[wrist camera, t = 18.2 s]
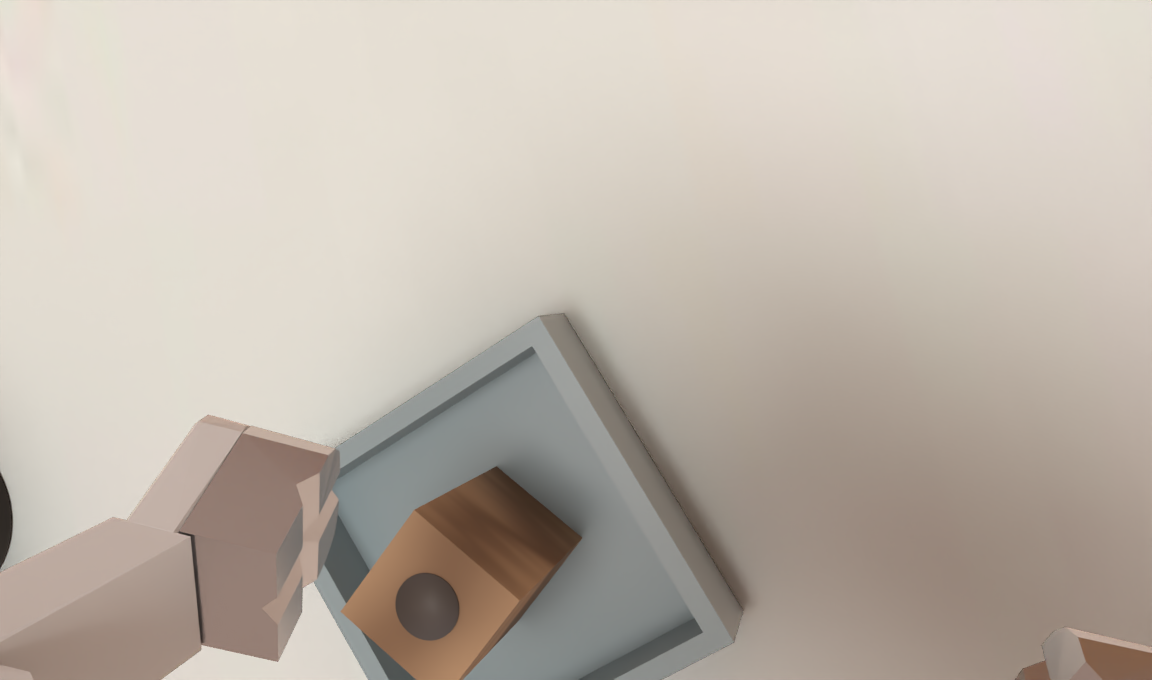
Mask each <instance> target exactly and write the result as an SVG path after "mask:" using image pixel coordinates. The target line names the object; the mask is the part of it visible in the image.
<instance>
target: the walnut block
mask: <svg viewBox="0 0 1152 680" xmlns="http://www.w3.org/2000/svg"><path fill="white" fill-rule="evenodd" d="M581 540H582V537H581V536H580V535H578V534H577V533H576V532H575V531H574V530H572V529H571V528H570V527H569V526H568V525H566V524H565V523H564V522H563V521H562V520H560V519H559V518H558V517H557V516H556V515H554V514H553V513H552V512H551V511H550V510H548V509H547V508H546V507H545V506H544V505H542V504H541V503H540V502H539V501H538V500H536V499H535V498H534V497H533V496H532V495H530V494H529V493H528V492H527V491H526V490H524V489H523V488H522V487H521V486H520V485H518V484H517V483H516V482H515V481H514V480H512V479H511V478H510V477H509V476H508V475H506V474H505V473H504V472H503V471H502V470H500V469H499V468H498V467H497V466H496V467H494V468H492V469H490V470H488V471H486V472H485V473H483V474H481V475H479V476H477V477H475V478H473V479H471V480H469V481H468V482H466V483H464V484H462V485H460V486H458V487H456V488H454V489H452V490H451V491H449V492H447V493H445V494H443V495H441V496H439V497H437V498H435V499H434V500H432V501H430V502H428V503H426V504H424V505H422V506H420V507H418V508H417V509H415V510H414V511H413V512H412V513H411V515H410V516H409V518H408V519H407V520H406V522H405V523H404V524H403V526H402V527H401V529H400V530H399V531H398V533H397V534H396V536H395V537H394V538H393V540H392V541H391V542H390V544H389V545H388V547H387V548H386V549H385V551H384V552H383V553H382V555H381V556H380V558H379V559H378V560H377V562H376V563H375V565H374V566H373V567H372V569H371V570H370V571H369V573H368V574H367V576H366V577H365V578H364V580H363V581H362V582H361V584H360V585H359V587H358V588H357V589H356V591H355V592H354V594H353V595H352V596H351V598H350V599H349V600H348V602H347V603H346V605H345V606H344V607H343V609H342V610H341V611H340V612H341V613H343V614H344V615H345V616H346V617H347V618H348V619H349V620H350V621H351V622H353V623H354V624H355V625H356V626H357V627H358V628H359V629H360V630H361V631H363V632H364V633H365V634H366V635H367V636H368V637H369V638H370V639H371V640H373V641H374V642H375V643H376V644H377V645H378V646H379V647H380V648H381V649H383V650H384V651H385V652H386V653H387V654H388V655H389V656H390V657H391V658H393V659H394V660H395V661H396V662H397V663H398V664H399V665H400V666H401V667H403V668H404V669H405V670H406V671H407V672H408V673H409V674H410V675H411V676H413V677H414V678H415V679H416V680H463V679H464V678H465V677H466V676H467V675H468V674H469V673H470V672H471V671H472V670H473V668H474V667H475V666H476V665H477V664H478V663H479V662H480V661H481V660H482V659H483V658H484V657H485V656H486V655H487V654H488V653H489V652H490V651H491V649H492V648H493V647H494V646H495V645H496V644H497V643H498V642H499V641H500V640H501V639H502V638H503V637H504V636H505V635H506V634H507V633H508V632H509V630H510V629H511V628H512V627H513V626H514V625H515V624H516V623H517V622H518V621H519V620H520V618H521V617H522V616H523V614H524V613H525V612H526V611H527V609H528V608H529V607H530V605H531V604H532V603H533V602H534V600H535V599H536V598H537V596H538V595H539V594H540V593H541V591H542V590H543V589H544V587H545V586H546V585H547V583H548V582H549V581H550V580H551V578H552V577H553V576H554V574H555V573H556V572H557V571H558V569H559V568H560V567H561V565H562V564H563V563H564V562H565V560H566V559H567V558H568V556H569V555H570V554H571V553H572V551H573V550H574V549H575V547H576V546H577V545H578V543H579V542H580V541H581Z"/></svg>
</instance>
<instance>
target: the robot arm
mask: <svg viewBox="0 0 1152 680" xmlns="http://www.w3.org/2000/svg"><path fill="white" fill-rule="evenodd" d="M339 474H340V451H338V450H337V449H335V448H332V447H328V446H324V445H321V444H317V443H313V442H310V441H306V440H302V439H299V438H295V437H291V436H288V435H284V434H280V433H277V432H273V431H269V430H266V429H262V428H258V427H255V426H249V425H245V424H241V423H237V422H234V421H230V420H226V419H223V418H219V417H215V416H211V415H207V416H206V417H204V418H203V419H201V420H200V421H198V422H197V423H196V424H195V425H194V426H193V428H192V429H191V430H190V432H189V433H188V435H187V436H186V437H185V439H184V440H183V442H182V443H181V444H180V446H179V447H178V449H177V450H176V451H175V453H174V454H173V456H172V457H171V458H170V460H169V461H168V463H167V464H166V465H165V467H164V468H163V470H162V471H161V472H160V474H159V475H158V477H157V478H156V479H155V481H154V482H153V484H152V485H151V486H150V488H149V489H148V491H147V492H146V493H145V495H144V496H143V498H142V499H141V500H140V502H139V503H138V505H137V506H136V507H135V509H134V510H133V512H132V513H131V514H130V516H129V517H128V519H127V520H124V519H119V518H115V517H112V518H110V519H108V520H106V521H104V522H102V523H100V524H98V525H96V526H94V527H92V528H90V529H88V530H86V531H84V532H82V533H80V534H78V535H76V536H74V537H71V538H69V539H67V540H65V541H63V542H61V543H59V544H57V545H55V546H53V547H51V548H49V549H47V550H45V551H43V552H41V553H39V554H37V555H35V556H33V557H30V558H28V559H26V560H24V561H22V562H20V563H18V564H16V565H14V566H12V567H10V568H8V569H6V570H4V571H2V572H0V680H161V679H163V678H164V677H165V676H167V675H168V674H169V673H171V672H172V671H173V670H175V669H176V668H177V667H179V666H180V665H182V664H183V663H184V662H186V661H187V660H188V659H190V658H191V657H192V656H194V655H195V654H196V653H198V652H199V651H200V650H201V645H204V646H209V647H213V648H218V649H222V650H227V651H231V652H236V653H241V654H245V655H250V656H254V657H259V658H263V659H268V660H272V661H277V662H278V661H279V659H280V657H281V655H282V653H283V651H284V649H285V646H286V644H287V642H288V640H289V638H290V636H291V634H292V632H293V630H294V628H295V625H296V623H297V621H298V619H299V617H300V615H301V613H302V590H303V588H304V587H305V586H307V585H309V584H310V583H312V582H314V581H315V580H317V579H318V577H319V574H320V572H321V570H322V568H323V565H324V563H325V561H326V559H327V556H328V553H329V550H330V547H331V543H332V540H333V537H334V534H335V529H336V523H337V518H338V507H339V499H338V498H337V496H336V495H335V494H334V492H333V491H332V488H333V486H334V484H335V482H336V480H337V478H338V476H339ZM1042 649H1043V653H1044V657H1045V661H1042V662H1039V663H1037V664H1034V665H1031V666H1029V667H1026V668H1023V669H1022V671H1021V672H1020V673H1019V675H1018V676H1017V678H1016V679H1015V680H1152V648H1151V647H1149V646H1145V645H1141V644H1137V643H1132V642H1128V641H1124V640H1120V639H1115V638H1111V637H1107V636H1103V635H1098V634H1094V633H1090V632H1085V631H1081V630H1077V629H1073V628H1068V627H1063V628H1061V629H1058V630H1056V631H1053V632H1052V633H1051V635H1050V636H1049V637H1048V638H1047V639H1046V641H1045V642H1044V643H1043V644H1042Z"/></svg>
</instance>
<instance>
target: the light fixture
mask: <svg viewBox="0 0 1152 680" xmlns="http://www.w3.org/2000/svg"><path fill="white" fill-rule="evenodd" d="M10 535H11V510H10V503H9V499H8V495H7V491H6V488H5V485H4V483H3V481H2V478H1V476H0V566H1V564H2V562H3V560H4V558H5V555H6V552H7V549H8V546H9V541H10Z"/></svg>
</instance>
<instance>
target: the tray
mask: <svg viewBox="0 0 1152 680" xmlns="http://www.w3.org/2000/svg"><path fill="white" fill-rule="evenodd" d="M335 449H337V450H338V451H340V474H339V476H338V478H337V480H336V482H335V484H334V486H333V488H332V491H333V492H334V494H335V495H336V496H337V498H338V499H339V507H338V518H337V523H336V529H335V534H334V537H333V540H332V543H331V547H330V550H329V553H328V556H327V559H326V561H325V563H324V565H323V568H322V570H321V572H320V574H319V577H318V579H317V580H315V581H314V584H315V586H316V587H317V589H318V591H319V593H320V594H321V596H322V598H323V600H324V602H325V603H326V605H327V607H328V609H329V611H330V612H331V614H332V616H333V618H334V619H335V621H336V623H337V625H338V627H339V628H340V630H341V632H342V634H343V636H344V637H345V639H346V641H347V643H348V645H349V646H350V648H351V650H352V652H353V653H354V655H355V657H356V659H357V661H358V662H359V664H360V666H361V668H362V670H363V671H364V673H365V675H366V677H367V678H368V680H416V679H415V678H414V677H413V676H411V675H410V674H409V673H408V672H407V671H406V670H405V669H404V668H403V667H401V666H400V665H399V664H398V663H397V662H396V661H395V660H394V659H393V658H391V657H390V656H389V655H388V654H387V653H386V652H385V651H384V650H383V649H381V648H380V647H379V646H378V645H377V644H376V643H375V642H374V641H373V640H371V639H370V638H369V637H368V636H367V635H366V634H365V633H364V632H363V631H361V630H360V629H359V628H358V627H357V626H356V625H355V624H354V623H353V622H351V621H350V620H349V619H348V618H347V617H346V616H345V615H344V614H343V613H341V612H340V611H341V610H342V609H343V607H344V606H345V605H346V603H347V602H348V600H349V599H350V598H351V596H352V595H353V594H354V592H355V591H356V589H357V588H358V587H359V585H360V584H361V582H362V581H363V580H364V578H365V577H366V576H367V574H368V573H369V571H370V570H371V569H372V567H373V566H374V565H375V563H376V562H377V560H378V559H379V558H380V556H381V555H382V553H383V552H384V551H385V549H386V548H387V547H388V545H389V544H390V542H391V541H392V540H393V538H394V537H395V536H396V534H397V533H398V531H399V530H400V529H401V527H402V526H403V524H404V523H405V522H406V520H407V519H408V518H409V516H410V515H411V513H412V512H413V511H414V510H415V509H417V508H418V507H420V506H422V505H424V504H426V503H428V502H430V501H432V500H434V499H435V498H437V497H439V496H441V495H443V494H445V493H447V492H449V491H451V490H452V489H454V488H456V487H458V486H460V485H462V484H464V483H466V482H468V481H469V480H471V479H473V478H475V477H477V476H479V475H481V474H483V473H485V472H486V471H488V470H490V469H492V468H494V467H496V466H497V467H498V468H499V469H500V470H502V471H503V472H504V473H505V474H506V475H508V476H509V477H510V478H511V479H512V480H514V481H515V482H516V483H517V484H518V485H520V486H521V487H522V488H523V489H524V490H526V491H527V492H528V493H529V494H530V495H532V496H533V497H534V498H535V499H536V500H538V501H539V502H540V503H541V504H542V505H544V506H545V507H546V508H547V509H548V510H550V511H551V512H552V513H553V514H554V515H556V516H557V517H558V518H559V519H560V520H562V521H563V522H564V523H565V524H566V525H568V526H569V527H570V528H571V529H572V530H574V531H575V532H576V533H577V534H578V535H580V536H581V537H582V540H581V541H580V542H579V543H578V545H577V546H576V547H575V549H574V550H573V551H572V553H571V554H570V555H569V556H568V558H567V559H566V560H565V562H564V563H563V564H562V565H561V567H560V568H559V569H558V571H557V572H556V573H555V574H554V576H553V577H552V578H551V580H550V581H549V582H548V583H547V585H546V586H545V587H544V589H543V590H542V591H541V593H540V594H539V595H538V596H537V598H536V599H535V600H534V602H533V603H532V604H531V605H530V607H529V608H528V609H527V611H526V612H525V613H524V614H523V616H522V617H521V618H520V620H519V621H518V622H517V623H516V624H515V625H514V626H513V627H512V628H511V629H510V630H509V632H508V633H507V634H506V635H505V636H504V637H503V638H502V639H501V640H500V641H499V642H498V643H497V644H496V645H495V646H494V647H493V648H492V649H491V651H490V652H489V653H488V654H487V655H486V656H485V657H484V658H483V659H482V660H481V661H480V662H479V663H478V664H477V665H476V666H475V667H474V668H473V670H472V671H471V672H470V673H469V674H468V675H467V676H466V677H465V678H464V679H463V680H662V679H664V678H666V677H668V676H670V675H672V674H674V673H676V672H678V671H680V670H682V669H684V668H686V667H687V666H689V665H691V664H693V663H695V662H697V661H699V660H701V659H703V658H705V657H707V656H709V655H711V654H713V653H715V652H717V651H718V650H720V649H722V648H724V647H726V646H728V645H730V644H732V643H734V641H735V638H736V634H737V631H738V627H739V624H740V620H741V617H742V613H743V610H742V608H741V606H740V605H739V603H738V601H737V600H736V598H735V596H734V595H733V593H732V591H731V590H730V588H729V586H728V585H727V583H726V581H725V580H724V578H723V576H722V575H721V573H720V571H719V570H718V568H717V566H716V565H715V563H714V561H713V560H712V558H711V556H710V555H709V553H708V552H707V550H706V548H705V547H704V545H703V543H702V542H701V540H700V538H699V537H698V535H697V533H696V532H695V530H694V528H693V527H692V525H691V523H690V522H689V520H688V518H687V517H686V515H685V513H684V512H683V510H682V508H681V507H680V505H679V503H678V502H677V500H676V498H675V497H674V495H673V493H672V492H671V490H670V488H669V487H668V485H667V483H666V482H665V480H664V478H663V477H662V475H661V474H660V472H659V470H658V469H657V467H656V465H655V464H654V462H653V460H652V459H651V457H650V455H649V454H648V452H647V450H646V449H645V447H644V445H643V444H642V442H641V440H640V439H639V437H638V435H637V434H636V432H635V430H634V429H633V427H632V425H631V424H630V422H629V420H628V419H627V417H626V415H625V414H624V412H623V410H622V409H621V407H620V405H619V404H618V402H617V401H616V399H615V397H614V396H613V394H612V392H611V391H610V389H609V387H608V386H607V384H606V382H605V381H604V379H603V377H602V376H601V374H600V372H599V371H598V369H597V367H596V366H595V364H594V362H593V361H592V359H591V357H590V356H589V354H588V352H587V351H586V349H585V347H584V346H583V344H582V342H581V341H580V339H579V337H578V336H577V334H576V332H575V331H574V329H573V327H572V326H571V324H570V323H569V321H568V319H567V318H566V316H565V314H554V315H544V316H538V317H536V318H535V319H533V320H532V321H530V322H529V323H527V324H526V325H524V326H522V327H521V328H519V329H518V330H516V331H515V332H513V333H512V334H510V335H509V336H507V337H505V338H504V339H502V340H501V341H499V342H498V343H496V344H495V345H493V346H492V347H490V348H489V349H487V350H485V351H484V352H482V353H481V354H479V355H478V356H476V357H475V358H473V359H472V360H470V361H468V362H467V363H465V364H464V365H462V366H461V367H459V368H458V369H456V370H455V371H453V372H452V373H450V374H448V375H447V376H445V377H444V378H442V379H441V380H439V381H438V382H436V383H435V384H433V385H431V386H430V387H428V388H427V389H425V390H424V391H422V392H421V393H419V394H418V395H416V396H415V397H413V398H411V399H410V400H408V401H407V402H405V403H404V404H402V405H401V406H399V407H398V408H396V409H394V410H393V411H391V412H390V413H388V414H387V415H385V416H384V417H382V418H381V419H379V420H378V421H376V422H374V423H373V424H371V425H370V426H368V427H367V428H365V429H364V430H362V431H361V432H359V433H357V434H356V435H354V436H353V437H351V438H350V439H348V440H347V441H345V442H344V443H342V444H341V445H339V446H337V447H336V448H335Z"/></svg>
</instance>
